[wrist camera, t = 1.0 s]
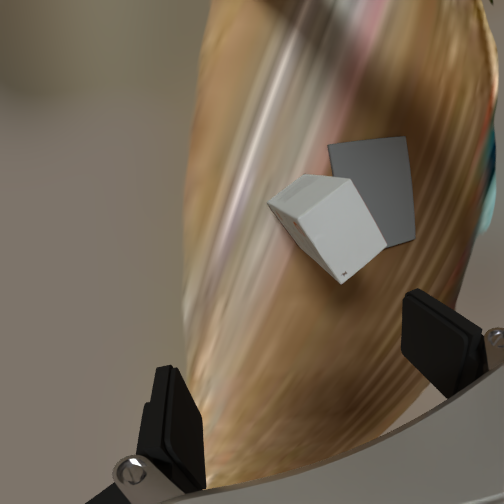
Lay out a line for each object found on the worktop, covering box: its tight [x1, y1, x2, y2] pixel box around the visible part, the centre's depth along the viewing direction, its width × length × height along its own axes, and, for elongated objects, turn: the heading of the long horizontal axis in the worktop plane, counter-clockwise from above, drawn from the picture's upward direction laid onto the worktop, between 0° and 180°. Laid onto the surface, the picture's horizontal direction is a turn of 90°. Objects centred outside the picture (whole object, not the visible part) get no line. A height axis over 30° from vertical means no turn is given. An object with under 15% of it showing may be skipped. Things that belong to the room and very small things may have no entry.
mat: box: [327, 136, 415, 248], centre depth 38 cm, size 16×13×1 cm
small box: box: [267, 174, 387, 284], centre depth 32 cm, size 8×6×13 cm
